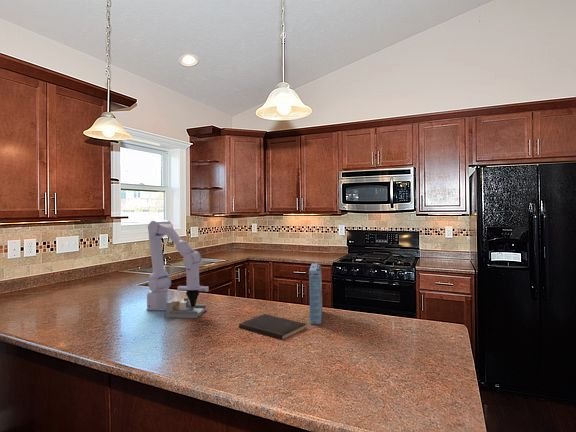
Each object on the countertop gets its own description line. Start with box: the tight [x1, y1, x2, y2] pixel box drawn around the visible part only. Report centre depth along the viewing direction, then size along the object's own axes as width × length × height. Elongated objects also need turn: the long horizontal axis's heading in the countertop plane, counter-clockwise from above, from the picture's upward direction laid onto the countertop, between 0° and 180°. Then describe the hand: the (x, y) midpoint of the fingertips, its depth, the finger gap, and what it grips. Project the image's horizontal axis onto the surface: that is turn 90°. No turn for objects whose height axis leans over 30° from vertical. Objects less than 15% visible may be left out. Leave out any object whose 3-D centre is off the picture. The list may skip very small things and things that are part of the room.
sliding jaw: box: [180, 296, 193, 311], centre depth 164 cm, size 3×9×6 cm, turn 174°
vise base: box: [164, 296, 207, 319], centre depth 165 cm, size 15×12×6 cm
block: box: [173, 298, 184, 311], centre depth 165 cm, size 4×5×5 cm
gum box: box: [308, 263, 323, 325], centre depth 156 cm, size 20×5×23 cm, turn 172°
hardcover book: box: [238, 313, 307, 341], centre depth 144 cm, size 16×23×2 cm
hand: (193, 306), depth 164 cm, fingers closed
